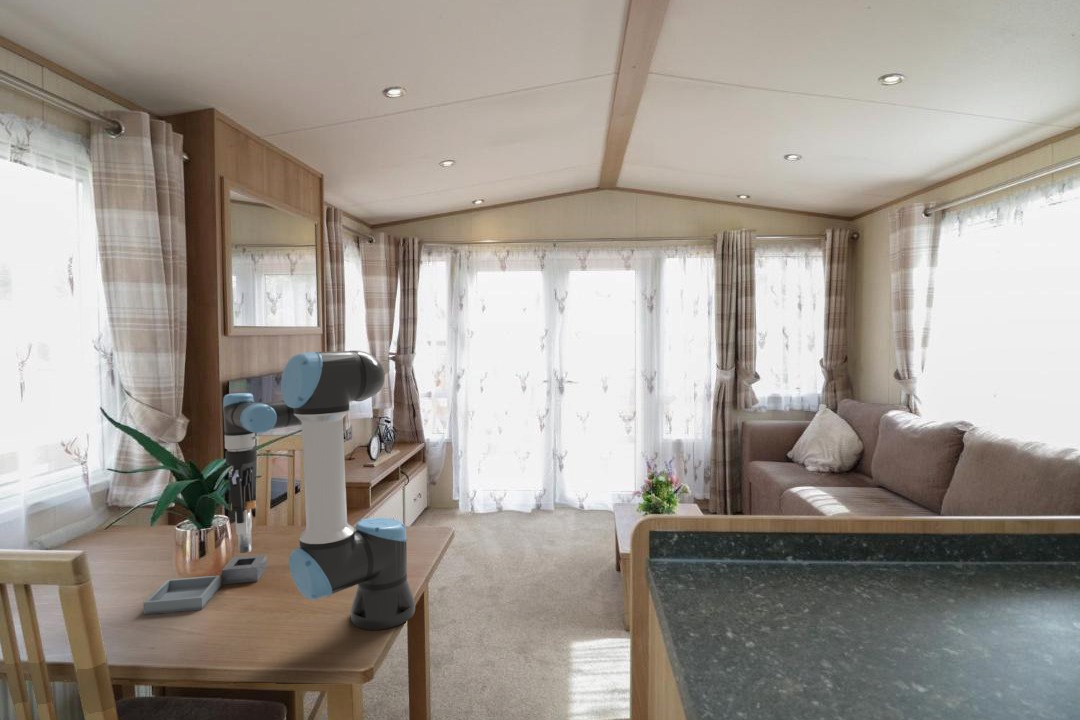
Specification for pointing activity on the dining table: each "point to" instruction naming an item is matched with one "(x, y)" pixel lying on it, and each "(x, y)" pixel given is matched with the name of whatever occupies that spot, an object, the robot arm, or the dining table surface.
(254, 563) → the block
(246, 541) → the t key
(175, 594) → the tray
